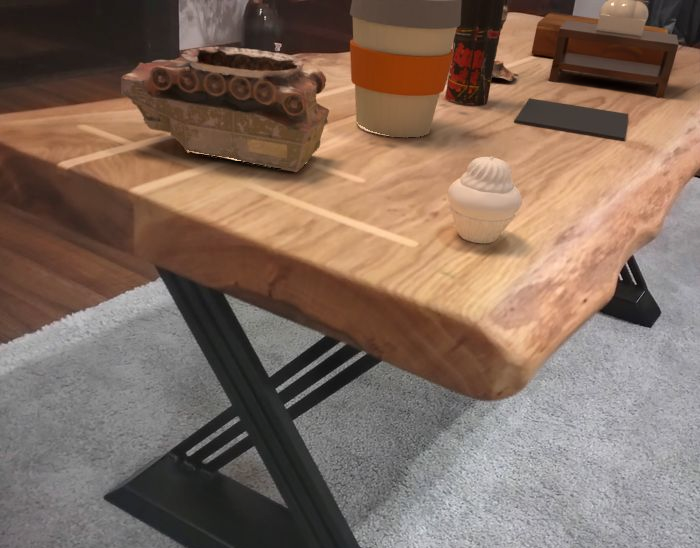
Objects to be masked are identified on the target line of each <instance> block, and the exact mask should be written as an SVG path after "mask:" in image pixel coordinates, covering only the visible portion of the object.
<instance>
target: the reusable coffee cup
mask: <svg viewBox="0 0 700 548" xmlns="http://www.w3.org/2000/svg"><path fill="white" fill-rule="evenodd" d="M461 1H462V0H351V4H350V11H349V15H350V16H351V17H352V35H353V37H352V38H351V39H350V41H349V53H350V57H349V58H350V79H351V83H352V84H353V85H354V93H355V95H354V97H355V122H356V121H357V122H358V124H359V125H361V126H363V127H365V128H366V129H368V130H370V131H373V132H377V133H380V134H385V135H389V136H393V137H392V138H394V137H407V138H406V139H409V138H408V137H416V138H420V136H421V137H425V136H427V135H429V133H430V132H431V127H432V123H433V120H434V117H435V112H436V108H437V105H438V102H439V97H440V94H441V93H443V92H444V91H445V90H446V89H445V88H446V86H447V82H448V76H449V70H450V66H451V62H452V58H453V55H454V51H453V50H452V48H453V41H454V37H455V33H456V29H457V27H459V26H460V22H461ZM426 134H427V135H426ZM424 135H425V136H424Z"/></svg>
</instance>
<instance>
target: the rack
mask: <svg viewBox="0 0 700 548" xmlns="http://www.w3.org/2000/svg"><path fill="white" fill-rule="evenodd" d="M597 26H598V24H590V23H583V22H575V21H568V20H566V21H565V22H564V24H563V25H562V26H561V27H560V29H559V33H558V38H557V43H556V48H555V53H554V57H552V62H551V67H550V72H549V77H548V81H549V82H554V83H556V82H557V80H558V78H559V77H558V76H559V72H563V71H568V72H576V73H583V74H588V75H590V74H591V75H595V76H596V75H597V76H603V77H611V78H616V79H623V80H629V81H638V82H643V83H650V84H655V86H656V85H658V86H657V90H656V93H655V98H659V97H662V98H661V99H664V98H665V94H666V91H667V89H668V88H667V87H668V84H669V80H670V78H671V74H672V70H673V66H674V63H675V59H676V55H677V52H678V48H679V46H680V45H679V44H680V43H679V38H678V34H672V33H668V34H666V33H658V32H651V31H643V34H642V36H634V35H627V34H619V33H612V32H604V31H597ZM569 38H573V39H580V40H588V41H595V42H602V43H609V44H617V45H624V46H631V47H638V48H646V49H653V50H660V51H665V52H664V55H663V59H662V63H661V66H659V65H652V64H645V63H638V62H631V61H623V60H616V59H609V58H602V57H595V56H588V55H581V54H574V53H567V48H568V43H569Z"/></svg>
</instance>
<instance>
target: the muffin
mask: <svg viewBox="0 0 700 548" xmlns="http://www.w3.org/2000/svg"><path fill="white" fill-rule="evenodd" d="M511 176H512V169H511V167H510V165H509V164H508V163H507V162H506V161H504V160H503V159H500V158H497V157H494V156H493V155H491V156H480V157H476V158H474V159H473V160H472V161H470V163H469V164H468V165H467V170H466V172H464V173H463V174H462V175H461V177H460V178H457V179H456V180H455V181H453V182H452V183H451V184H450V186H449V188H448V190H447V198H448V202H449V206H448V207H449V210H450V214H451V216H452V219H453V222H454V225H455V227H456V231H457V234H458V236H459V237H461V239H463V240H465V241H467V242H470V243H476V244H491V243H494V242H495V241H497V239H498V238H499V237H500V236H501V235H502V233H503V232H504V231H505V230H506V228H507V227H508V226H509V225H510V224H511V222H512V221H513V220H514V219H515V217H516V214H517V213H518V212H519V211H520V209H521V208H522V205H523V197H522V194H521V192H520V191H519V189H518V187H516V185H515V183H514V180H513V179H512V177H511Z"/></svg>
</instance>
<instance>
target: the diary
mask: <svg viewBox="0 0 700 548" xmlns="http://www.w3.org/2000/svg"><path fill="white" fill-rule="evenodd" d="M566 20H568V21H575V22H583V23H590V24H598V21H599V18H595V17H588V16H580V15H573V14H566V13H561V12H552V11H550V12H549V13H547V14H546V15H545V16H544V17H542V18H541V19H540V20H539V21H538V22H537V24H536V28H535V33H534V38H533V44H532V48H531V55H535V56H542V57H547V58H553V57H554V53H555V48H556V43H557V38H558V33H559V29H560V27H561V26H562V25H563V24H564V22H565V21H566ZM643 31H651V32H658V33H666V34H669V28H664V27H658V26H650V25H645V26H644V30H643ZM664 52H665V51H660V50H653V49H646V48H638V47H631V46H624V45H617V44H609V43H602V42H595V41H588V40H580V39H573V38H569V43H568V48H567V53H574V54H581V55H588V56H595V57H602V58H609V59H616V60H623V61H631V62H638V63H645V64H652V65H659V66H661V63H662V59H663V55H664Z"/></svg>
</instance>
